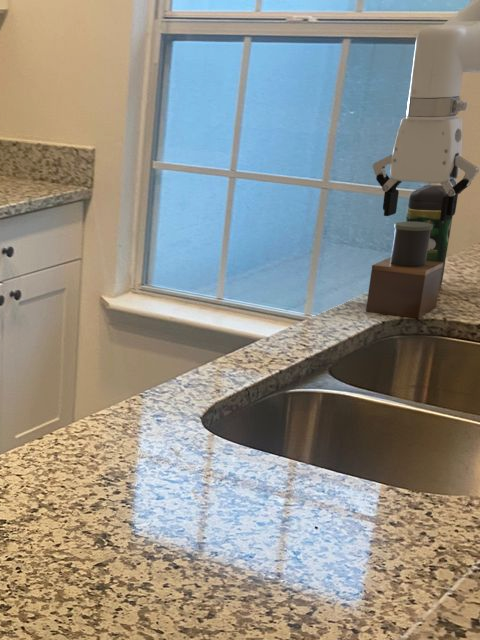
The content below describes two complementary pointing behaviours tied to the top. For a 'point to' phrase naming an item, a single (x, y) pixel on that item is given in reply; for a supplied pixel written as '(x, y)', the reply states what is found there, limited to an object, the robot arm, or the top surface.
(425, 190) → the coffee jar
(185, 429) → the top surface
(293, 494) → the top surface
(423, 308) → the box
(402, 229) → the container
